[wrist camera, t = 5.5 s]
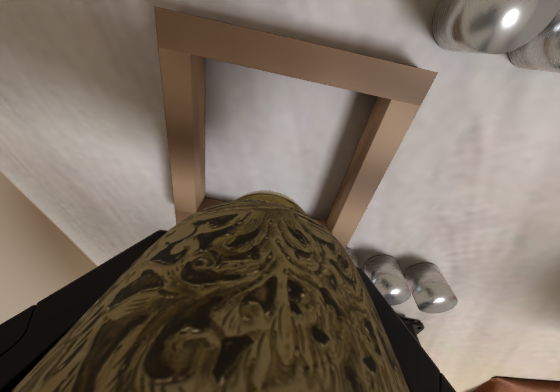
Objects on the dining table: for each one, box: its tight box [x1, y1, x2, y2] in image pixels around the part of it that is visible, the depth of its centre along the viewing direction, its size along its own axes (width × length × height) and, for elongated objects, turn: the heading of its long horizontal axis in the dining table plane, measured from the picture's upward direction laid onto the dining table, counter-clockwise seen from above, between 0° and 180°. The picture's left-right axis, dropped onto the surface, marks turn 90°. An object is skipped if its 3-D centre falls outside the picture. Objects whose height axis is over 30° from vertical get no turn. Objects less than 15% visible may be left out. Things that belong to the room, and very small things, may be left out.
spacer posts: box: [345, 0, 560, 313], centre depth 15 cm, size 21×11×3 cm, turn 169°
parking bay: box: [154, 6, 438, 249], centre depth 15 cm, size 13×13×2 cm
